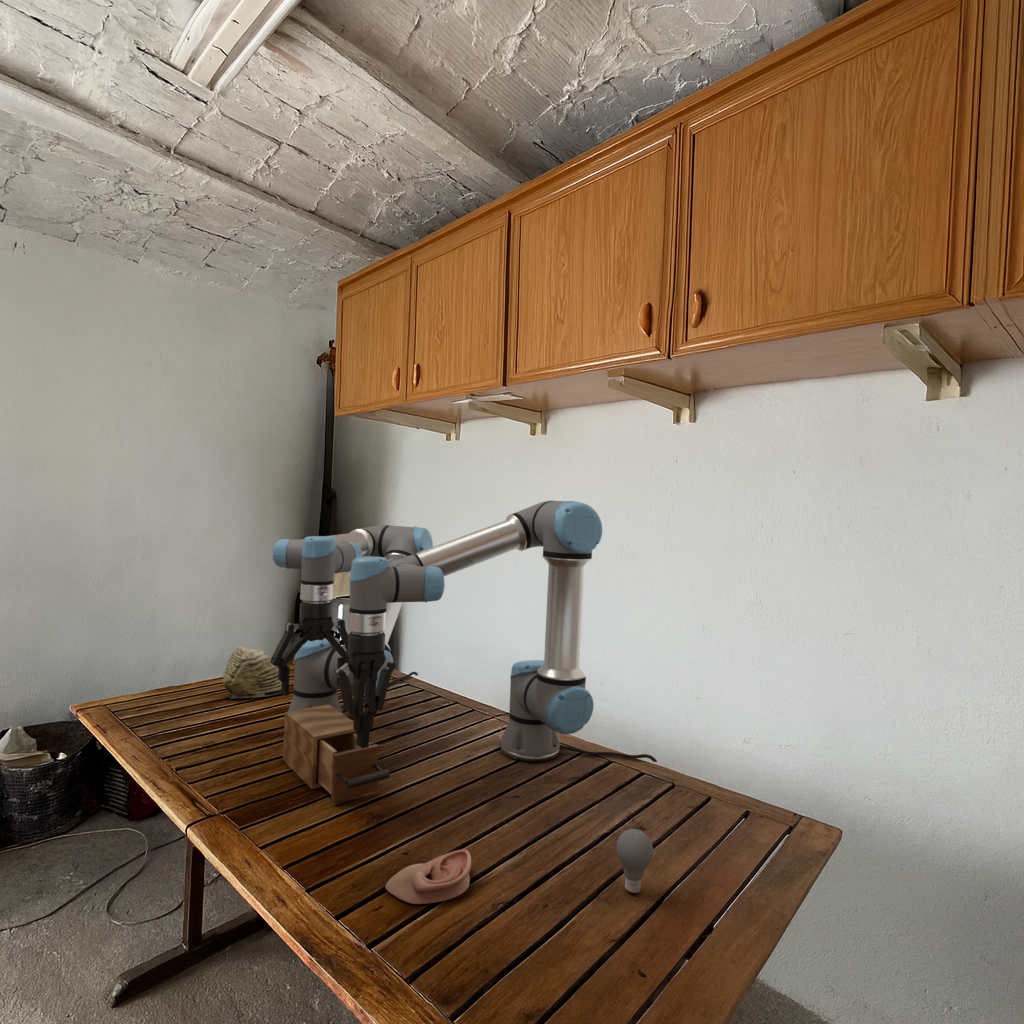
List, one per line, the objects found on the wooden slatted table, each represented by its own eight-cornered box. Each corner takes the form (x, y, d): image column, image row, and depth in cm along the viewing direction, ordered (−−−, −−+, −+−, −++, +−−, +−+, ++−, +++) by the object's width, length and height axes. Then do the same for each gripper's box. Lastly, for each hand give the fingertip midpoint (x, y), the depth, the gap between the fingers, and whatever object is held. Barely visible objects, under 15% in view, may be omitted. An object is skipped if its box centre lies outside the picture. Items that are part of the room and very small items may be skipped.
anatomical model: (378, 873, 101) (404, 836, 112) (377, 898, 101) (403, 858, 112) (458, 887, 98) (477, 848, 109) (457, 912, 98) (476, 870, 109)
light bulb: (610, 879, 108) (613, 822, 108) (644, 879, 109) (647, 822, 109) (619, 902, 102) (622, 840, 102) (655, 901, 103) (658, 840, 103)
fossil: (218, 695, 195) (220, 647, 195) (278, 685, 208) (279, 640, 207) (228, 703, 189) (230, 653, 188) (289, 692, 201) (290, 645, 201)
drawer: (390, 801, 131) (392, 755, 131) (345, 814, 125) (347, 766, 125) (343, 762, 149) (345, 721, 149) (302, 772, 143) (304, 729, 143)
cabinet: (359, 777, 144) (361, 726, 144) (312, 789, 137) (314, 736, 137) (327, 750, 158) (329, 704, 158) (282, 760, 151) (284, 712, 151)
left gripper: (268, 607, 140) (265, 702, 141) (371, 600, 156) (368, 685, 156) (258, 602, 146) (254, 693, 147) (358, 595, 162) (355, 678, 162)
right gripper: (344, 638, 123) (340, 758, 124) (404, 632, 132) (399, 744, 132) (329, 631, 129) (324, 746, 130) (386, 625, 137) (382, 733, 138)
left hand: (313, 689), depth 152 cm, fingers open, 13 cm apart
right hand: (362, 745), depth 131 cm, fingers closed
